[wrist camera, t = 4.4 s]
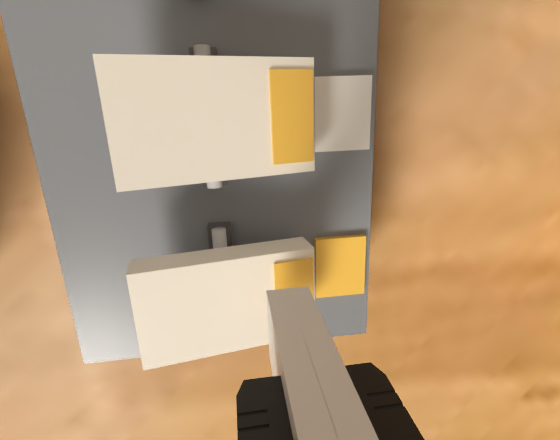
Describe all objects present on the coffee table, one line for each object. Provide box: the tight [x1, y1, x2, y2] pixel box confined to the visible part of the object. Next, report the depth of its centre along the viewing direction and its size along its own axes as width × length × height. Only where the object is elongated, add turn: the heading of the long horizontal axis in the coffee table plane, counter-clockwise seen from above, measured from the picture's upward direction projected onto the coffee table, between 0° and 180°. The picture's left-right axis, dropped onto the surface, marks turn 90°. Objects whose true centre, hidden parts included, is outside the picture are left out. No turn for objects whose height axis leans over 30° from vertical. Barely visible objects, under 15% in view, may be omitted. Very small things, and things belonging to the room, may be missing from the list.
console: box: [0, 0, 380, 364], centre depth 17 cm, size 14×22×7 cm, turn 2°
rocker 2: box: [126, 237, 315, 370], centre depth 15 cm, size 7×4×2 cm, turn 92°
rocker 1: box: [92, 54, 315, 192], centre depth 12 cm, size 7×4×2 cm, turn 91°
